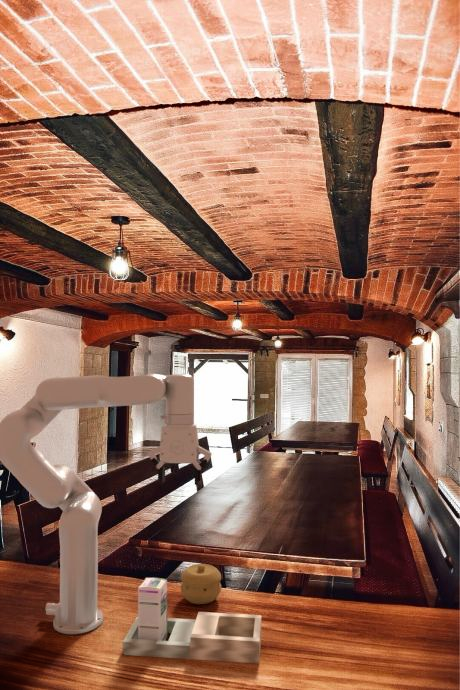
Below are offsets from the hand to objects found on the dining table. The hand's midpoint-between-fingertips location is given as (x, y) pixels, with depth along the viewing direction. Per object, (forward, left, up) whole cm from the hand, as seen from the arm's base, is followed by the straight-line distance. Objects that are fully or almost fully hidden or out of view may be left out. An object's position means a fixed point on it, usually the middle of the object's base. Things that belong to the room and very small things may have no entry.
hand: (179, 483), depth 140 cm
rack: (+6, -13, -36) cm, 39 cm away
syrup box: (-4, -13, -36) cm, 38 cm away
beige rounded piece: (+4, +10, -36) cm, 38 cm away
